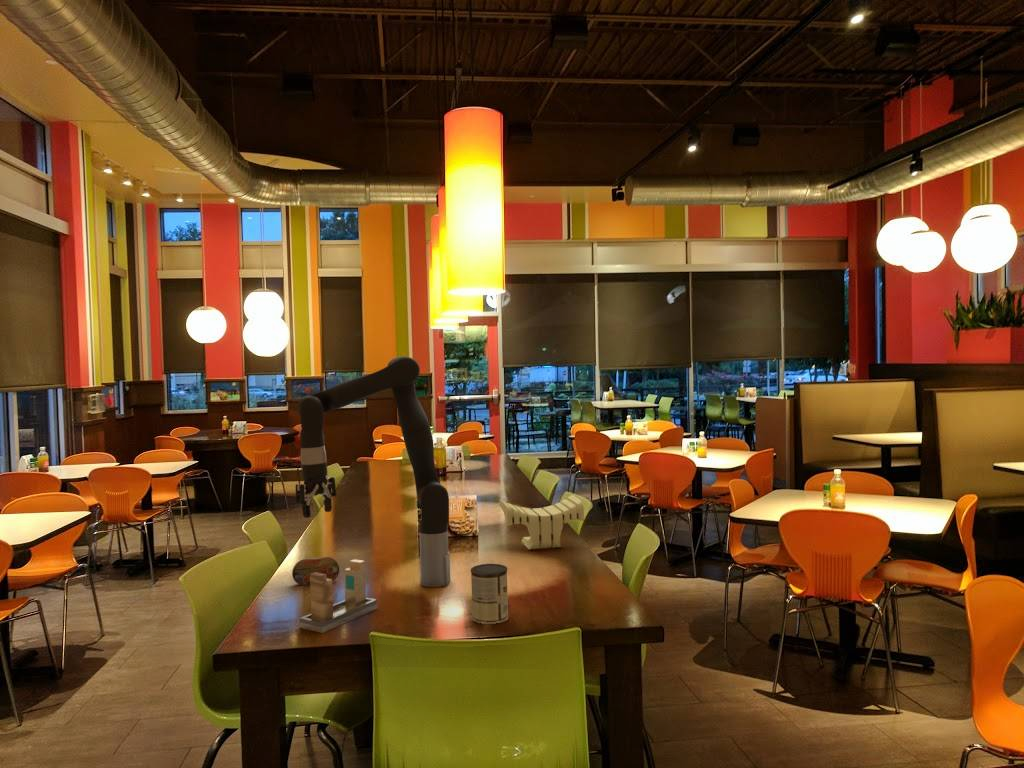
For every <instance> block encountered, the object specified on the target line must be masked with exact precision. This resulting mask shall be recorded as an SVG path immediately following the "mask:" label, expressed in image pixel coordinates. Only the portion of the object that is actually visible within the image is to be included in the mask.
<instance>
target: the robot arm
mask: <svg viewBox="0 0 1024 768" xmlns="http://www.w3.org/2000/svg"><path fill="white" fill-rule="evenodd" d="M420 371H421V369H420V365H419V363H418V362H417V361H416V360H415V359H414V358H412V357H410V356H405V355H404V356H399V357H398V356H397V357H394V358H392V359H391V360H389V362H388V363H387V365H386V366H385V367H384V368H381V369H379V370H377V371H375V372H372V373H369V374H366V375H361V376H359V377H356V378H352V379H348V380H347V381H344V382H341V383H338V384H335V385H334V386H331V387H329V388H327V389H325V390H321V391H318V392H316V393H312V394H310V395H305V396H303V397H302V398H301V399H299V400H298V401H297V404H296V412H297V414H298V416H300V427H301V429H300V433H299V441H300V465H301V466H300V468H301V477H302V479H303V483H302V484H301V483H296V484H295V503H296V504H297V505H300V506H301V507H302V508H301V511H302V516H303V517H304V518H307V519H309V518H310V517H311V506H310V503H311V502H312V499H313V498H314V497H315V496H318V495H321V496H322V497H323V498H324V499H323V506H324V508H323V509H324V512H325V513H329V512H331V511H332V509H333V505H332V504H333V503H332V499H333V497H336V496H337V490H336V489H337V488H336V480H335V477H333V476H328V462H327V451H326V446H325V435H324V417H325V416H324V415H325V413H328V412H330V411H332V410H333V411H334V410H339V409H341V408H343V407H347V406H349V405H351V404H354V403H356V402H358V401H361V400H363V399H365V398H368V397H370V396H371V395H375V394H377V393H379V392H382V391H386V390H389V389H391V393H392V394H393V396H394V400H395V404H396V409H397V410H396V411H397V415H398V419H399V424H400V429H401V434H402V438H403V442H404V446H405V449H406V452H407V453H406V454H407V455H408V458H409V461H410V465H411V467H412V471H413V477H414V483H415V491H416V497H417V498H416V499H417V501H418V503H419V504H420V523H419V526H418V527H419V529H418V530H419V559H420V560H419V561H420V562H419V563H420V569H419V570H420V571H419V572H420V586H423V587H425V588H438V587H439V588H440V587H447V586H448V585H449V583H450V582H451V558H450V556H451V555H450V551H449V532H448V531H449V529H448V528H449V521H450V496H449V495H450V494H449V492H448V490H447V488H446V487H445V486H444V485H442V484H441V482H440V479H439V477H438V474H437V469H436V464H435V450H434V449H435V448H434V446H435V445H434V439H433V437H434V436H433V433H432V429H431V425H430V422H429V419H428V417H427V414H426V413H425V410H424V409H423V406H422V405H421V403H420V401H419V399H418V396H417V395H418V394H417V391H416V386H415V381H416V380H418V378H419V376H420Z"/></svg>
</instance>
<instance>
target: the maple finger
mask: <svg viewBox="0 0 1024 768" xmlns="http://www.w3.org/2000/svg"><path fill="white" fill-rule="evenodd" d="M333 585H334V584H333V581H332V579H328V578H326V574H322V573H317V572H315V573H312V574H310V585H309V587H310V588H309V589H310V592H309V593H310V614H311V619H314V620H318V621H324V620H326V619H329V618H331V617H333V604H334V596H333V595H334V594H333V593H334V592H333V591H334V588H333Z"/></svg>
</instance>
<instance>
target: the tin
mask: <svg viewBox="0 0 1024 768" xmlns="http://www.w3.org/2000/svg"><path fill="white" fill-rule="evenodd" d="M315 572H317V573H322V574H326V578H328V579H332V582H334V581H335V580H336V578H338V576H339V574H340V566H339V563H338V562H337V560H336V559H334V558H333V557H330V556H322V557H313V558H305V559H301V560H299V561H297V562H296V563H295V564H294V565H293V568H292V572H291V575H292V579H293V581H294V582H295V583H296V584H298V585H300V586H310V574H312V573H315Z"/></svg>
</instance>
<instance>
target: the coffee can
mask: <svg viewBox="0 0 1024 768" xmlns="http://www.w3.org/2000/svg"><path fill="white" fill-rule="evenodd" d="M470 575H471V576H470V577H471V578H470V579H471V581H470V582H471V583H470V584H471V607H472V608H471V609H472V613H471V614H472V617H471V620H472V621H473V622H474V621H475V622H474V623H476V622H477V624H480V623H481V625H496V623H498V624H502V623H504V622H506V621H508V619H509V604H508V603H509V600H508V567H507V565H503V564H499V563H483V564H482V563H481V564H478V565H475V566H473V567H471V568H470Z"/></svg>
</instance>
